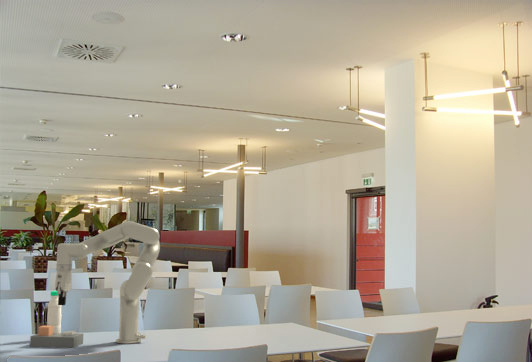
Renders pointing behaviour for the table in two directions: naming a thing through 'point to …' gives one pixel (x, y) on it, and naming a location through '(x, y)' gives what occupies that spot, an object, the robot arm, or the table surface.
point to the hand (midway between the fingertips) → (61, 305)
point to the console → (56, 340)
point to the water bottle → (54, 313)
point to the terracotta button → (45, 330)
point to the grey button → (69, 333)
